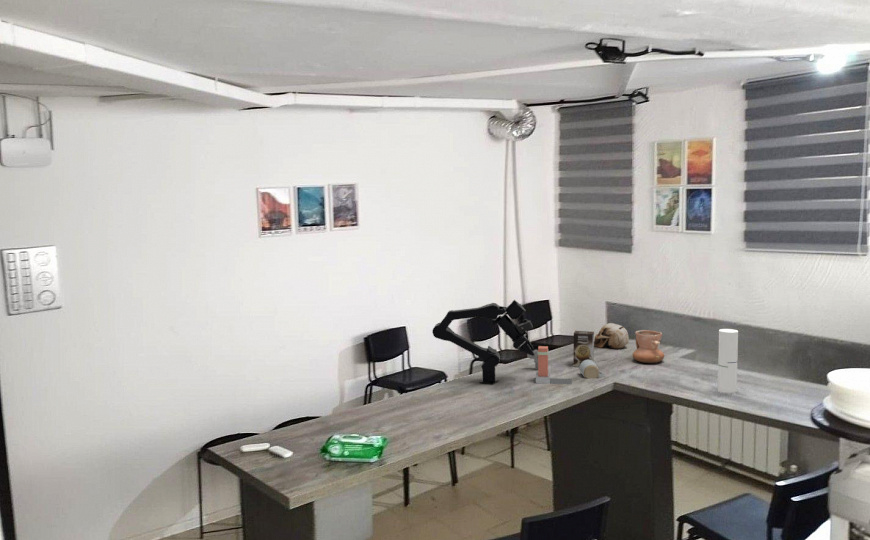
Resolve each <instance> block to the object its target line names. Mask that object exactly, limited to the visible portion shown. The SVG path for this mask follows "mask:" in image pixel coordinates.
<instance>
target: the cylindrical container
mask: <svg viewBox="0 0 870 540" xmlns="http://www.w3.org/2000/svg"><path fill="white" fill-rule="evenodd" d="M738 348H739V330H737V329H733V328H720V329H719V330H718V359H717V360H718V361H717V364H718V365H717V391H718V392H719V393H722V394H723V393H724V394H736V393H737V390H738V359H739V358H738V357H739V356H738V353H739V349H738Z"/></svg>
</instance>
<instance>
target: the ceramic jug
mask: <svg viewBox="0 0 870 540" xmlns="http://www.w3.org/2000/svg"><path fill="white" fill-rule="evenodd" d="M662 336H663V333H662V332H661V331H656V330H647V329H640V330H636V331H635V347H636V349H635V350H634V351H633V352H632V357H633V359H634V360H635V361H637V362H640V363H643V364H656V363H659V362H661V361H663V360H664V359H665V354H664V352H663V351H662V350H660V349H659V348H658V347H659V345H660V344H661V340H662Z"/></svg>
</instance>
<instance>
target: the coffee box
mask: <svg viewBox="0 0 870 540" xmlns="http://www.w3.org/2000/svg"><path fill="white" fill-rule="evenodd" d="M594 339H595V331H589V330H588V331H587V330H586V331H585V330H574V332H573V363H572V364H573V365H572V367H575V368H580V364H581V363H582V362H583V361H584V360H592V361H593V362H595V360H594V359H595V355H594V354H595V346H594Z"/></svg>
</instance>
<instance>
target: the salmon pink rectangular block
mask: <svg viewBox="0 0 870 540" xmlns="http://www.w3.org/2000/svg"><path fill="white" fill-rule="evenodd" d="M537 350H538V370H537V372H538V376H548V372H549V346H543V345H538V347H537Z"/></svg>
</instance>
